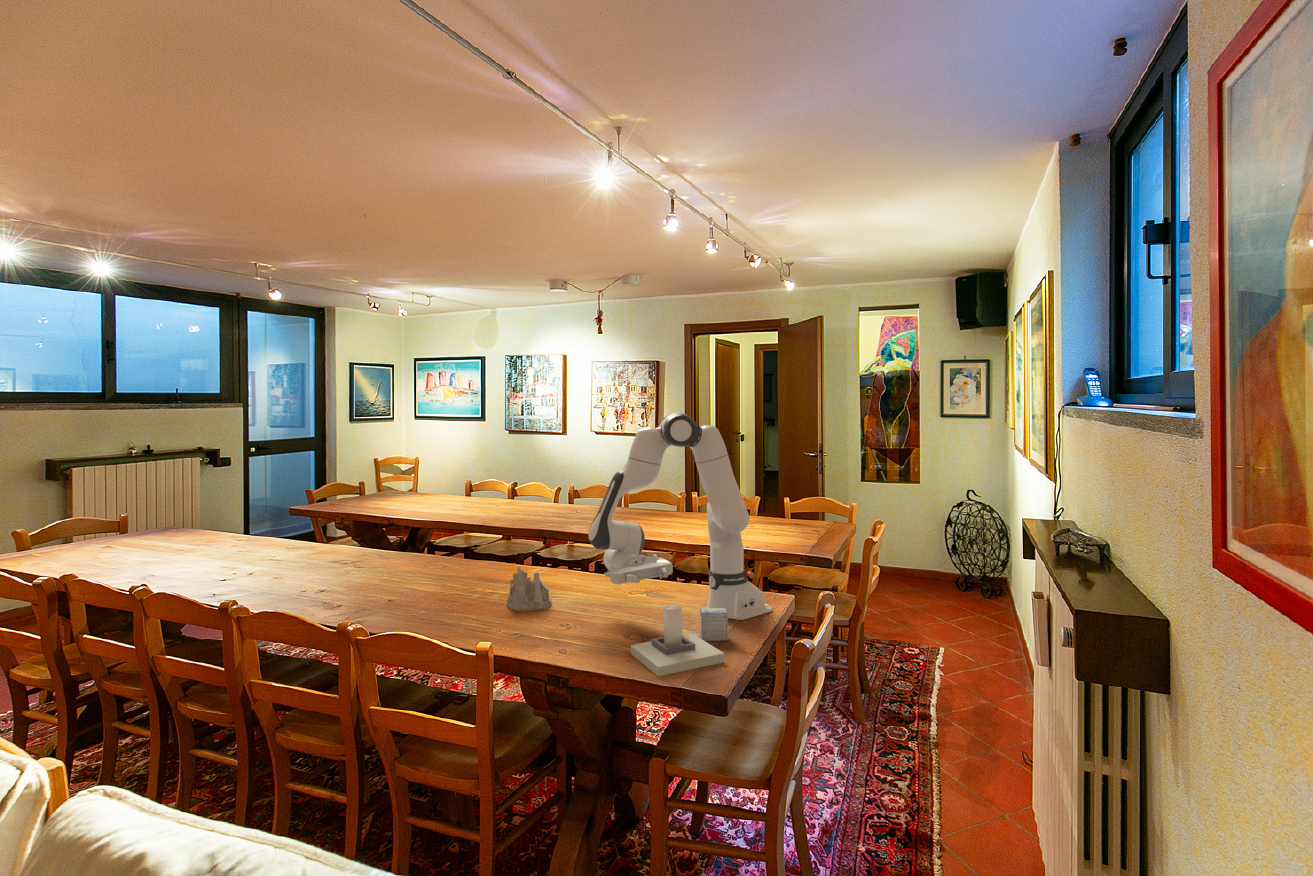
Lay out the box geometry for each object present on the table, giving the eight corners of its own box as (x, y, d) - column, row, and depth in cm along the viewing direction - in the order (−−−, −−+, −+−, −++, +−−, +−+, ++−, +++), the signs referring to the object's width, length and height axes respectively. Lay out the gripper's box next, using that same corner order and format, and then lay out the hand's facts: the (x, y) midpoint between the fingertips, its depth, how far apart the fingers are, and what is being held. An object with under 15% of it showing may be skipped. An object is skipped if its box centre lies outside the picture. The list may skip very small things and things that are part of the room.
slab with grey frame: (692, 642, 190) (692, 628, 190) (724, 662, 175) (724, 647, 175) (630, 654, 181) (630, 640, 181) (658, 676, 166) (658, 661, 166)
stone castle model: (549, 610, 220) (548, 565, 221) (501, 612, 220) (499, 568, 220) (556, 599, 236) (554, 558, 236) (511, 601, 236) (509, 560, 236)
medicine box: (725, 635, 195) (725, 607, 195) (728, 641, 191) (728, 612, 190) (699, 636, 195) (699, 608, 195) (701, 641, 191) (701, 612, 190)
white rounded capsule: (676, 642, 183) (676, 604, 182) (685, 648, 179) (684, 609, 178) (660, 645, 181) (660, 606, 180) (669, 651, 176) (668, 611, 176)
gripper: (601, 563, 201) (619, 572, 189) (659, 553, 211) (680, 561, 198) (602, 583, 202) (620, 593, 189) (660, 572, 211) (681, 581, 199)
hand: (651, 577), depth 194 cm, fingers open, 8 cm apart
